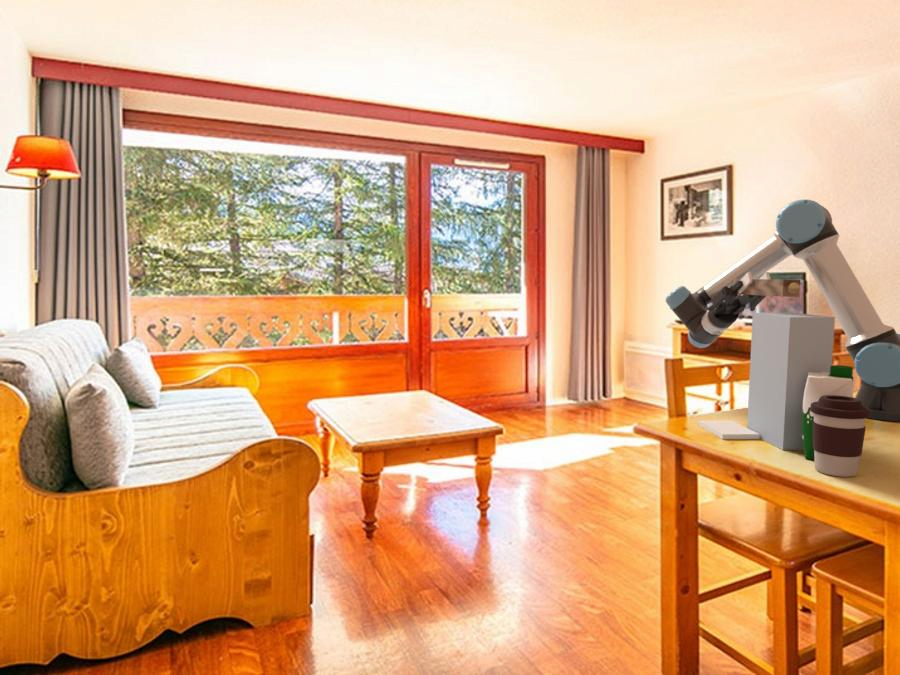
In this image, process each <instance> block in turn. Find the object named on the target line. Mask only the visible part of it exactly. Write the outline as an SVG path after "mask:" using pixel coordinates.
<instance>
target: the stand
mask: <svg viewBox="0 0 900 675" xmlns="http://www.w3.org/2000/svg"><path fill="white" fill-rule="evenodd" d="M751 319H752V321H751V337H750V338H751V343H750V358H749V359H750V363H749V382H748V400H747V401H748V404H747V421H746V422H747V424H746V428H748V429H750V430H752V431H754V432H756V433H758V434H760V439H759V440H762V441H764V442H765V443H768V444H770V445H772V446H773V447H776V448H777V447H778V449H779V448H780V450H781V449H782V450H781V451H804V446H803V439H802V409H803V396H804V390H805V385H806V381H807V376H808V372H813V373H822V372H825V373H830V366H832V365H833V356H834V355H833V352H834V339H835V337H834V336H835V320H836V316H827V315H817V314H808V313H799V312H752V318H751Z"/></svg>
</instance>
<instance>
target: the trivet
mask: <svg viewBox="0 0 900 675" xmlns="http://www.w3.org/2000/svg"><path fill="white" fill-rule="evenodd" d="M698 425H699V426H698ZM697 426H698V427H700V426H701V427H700V428H702V429H703V430H705V431H707V432H709V433H711V434H712V435H714V436H715V437H718V438H719V439H721V440H761V439H760V434H758V433H756V432H754V431H752V430H750V429H748V428H747V426H744V425H742V424H739V423H738V422H736V421H734V420H731V419H730V420H728V419H727V420H697Z"/></svg>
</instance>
